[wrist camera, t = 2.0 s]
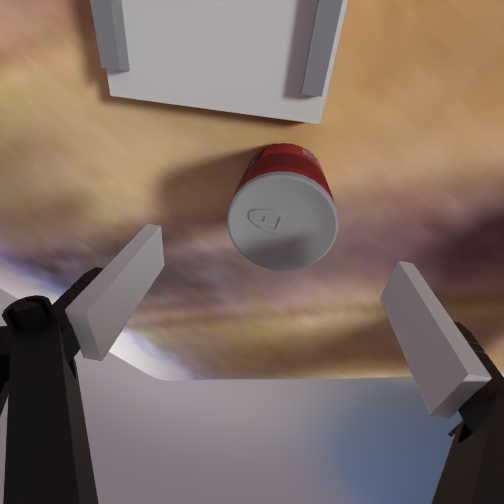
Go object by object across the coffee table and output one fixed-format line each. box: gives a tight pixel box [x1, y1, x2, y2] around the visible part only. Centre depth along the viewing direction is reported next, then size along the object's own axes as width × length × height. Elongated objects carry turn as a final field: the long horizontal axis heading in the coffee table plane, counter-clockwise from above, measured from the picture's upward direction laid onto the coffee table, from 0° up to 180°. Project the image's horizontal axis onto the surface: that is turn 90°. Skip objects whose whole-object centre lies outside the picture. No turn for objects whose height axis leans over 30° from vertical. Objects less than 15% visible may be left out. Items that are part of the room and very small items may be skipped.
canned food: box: [227, 143, 338, 271], centre depth 24 cm, size 8×8×11 cm
